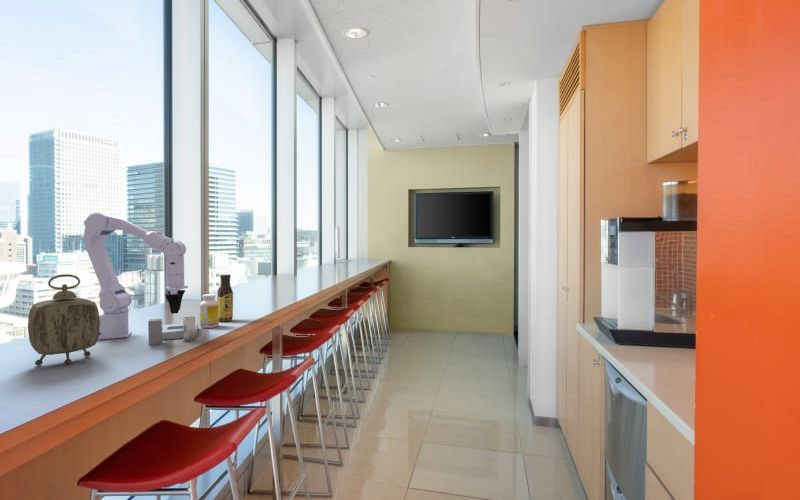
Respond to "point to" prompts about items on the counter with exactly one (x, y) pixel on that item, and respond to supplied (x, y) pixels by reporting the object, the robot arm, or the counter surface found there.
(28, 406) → the counter surface
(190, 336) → the round bit
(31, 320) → the tabletop clock
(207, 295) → the supplement bottle
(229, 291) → the sauce bottle
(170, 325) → the bore block
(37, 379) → the counter surface
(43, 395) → the counter surface
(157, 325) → the square bit
